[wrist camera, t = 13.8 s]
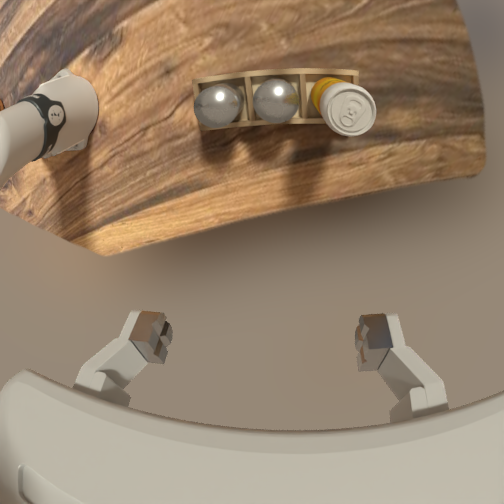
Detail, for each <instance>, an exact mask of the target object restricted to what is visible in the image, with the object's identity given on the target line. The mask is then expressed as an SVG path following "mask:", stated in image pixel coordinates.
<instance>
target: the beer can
mask: <svg viewBox="0 0 504 504" xmlns="http://www.w3.org/2000/svg"><path fill="white" fill-rule="evenodd" d="M311 100H312V102H313V104H314V106H315V107H316V109H317V110H318V112H319V113H320V114H321V116H322V117H323V119H324V120H325V122H326V123H327V125H328V126H329V127H330V128H331V129H332V130H333V131H335V132H336V133H338V134H341V135H344V136H357V135H360V134H363V133H365V132H366V131H368V130H369V129H370V128H371V126H372V125H373V123H374V121H375V117H376V106H375V102H374V100H373V98H372V97H371V95H370V94H369V93H368V92H367V91H366V90H365V89H363V88H362V87H360V86H357V85H354V84H352V83H349V82H346V81H342V80H339V79H336V78H332V77H327V78H322V79H320V80H318V81H317V82H316V83H315V84H314V85H313V87H312V90H311Z"/></svg>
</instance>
